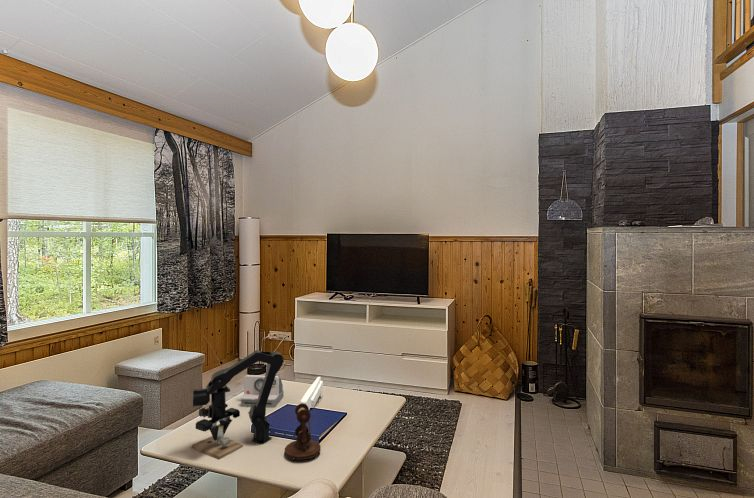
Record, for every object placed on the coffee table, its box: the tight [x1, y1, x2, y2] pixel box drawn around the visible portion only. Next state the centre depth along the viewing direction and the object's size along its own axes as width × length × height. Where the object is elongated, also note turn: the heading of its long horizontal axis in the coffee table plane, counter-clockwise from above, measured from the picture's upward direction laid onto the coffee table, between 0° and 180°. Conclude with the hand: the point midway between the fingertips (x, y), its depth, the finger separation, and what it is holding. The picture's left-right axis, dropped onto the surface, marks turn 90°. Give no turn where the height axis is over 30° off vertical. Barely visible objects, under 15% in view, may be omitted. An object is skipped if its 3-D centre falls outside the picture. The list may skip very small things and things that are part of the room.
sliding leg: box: [214, 423, 224, 445], centre depth 182 cm, size 3×3×8 cm
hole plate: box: [190, 435, 244, 460], centre depth 182 cm, size 18×12×5 cm, turn 59°
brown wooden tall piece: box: [284, 403, 321, 462], centre depth 177 cm, size 15×15×20 cm
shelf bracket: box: [299, 376, 324, 410], centre depth 230 cm, size 6×25×13 cm, turn 168°
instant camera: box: [240, 374, 285, 409], centre depth 236 cm, size 21×21×15 cm
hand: (218, 438), depth 182 cm, fingers closed on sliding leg, 3 cm apart
